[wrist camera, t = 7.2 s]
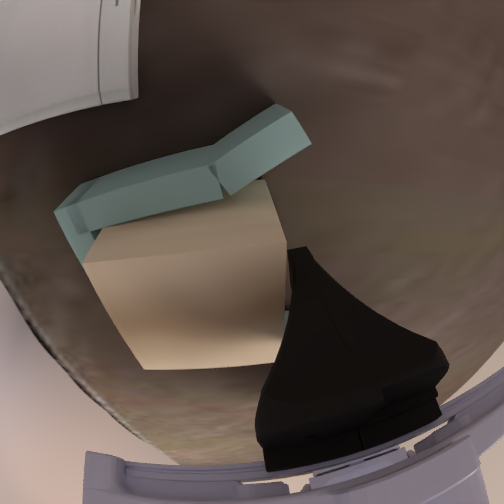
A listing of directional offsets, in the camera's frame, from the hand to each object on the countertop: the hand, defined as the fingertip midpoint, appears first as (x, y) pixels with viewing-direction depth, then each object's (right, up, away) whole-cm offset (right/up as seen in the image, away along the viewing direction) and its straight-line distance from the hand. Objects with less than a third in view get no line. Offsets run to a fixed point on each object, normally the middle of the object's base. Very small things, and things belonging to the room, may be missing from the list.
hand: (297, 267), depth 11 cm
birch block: (-4, +1, +1) cm, 4 cm away
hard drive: (-12, +10, -5) cm, 17 cm away
